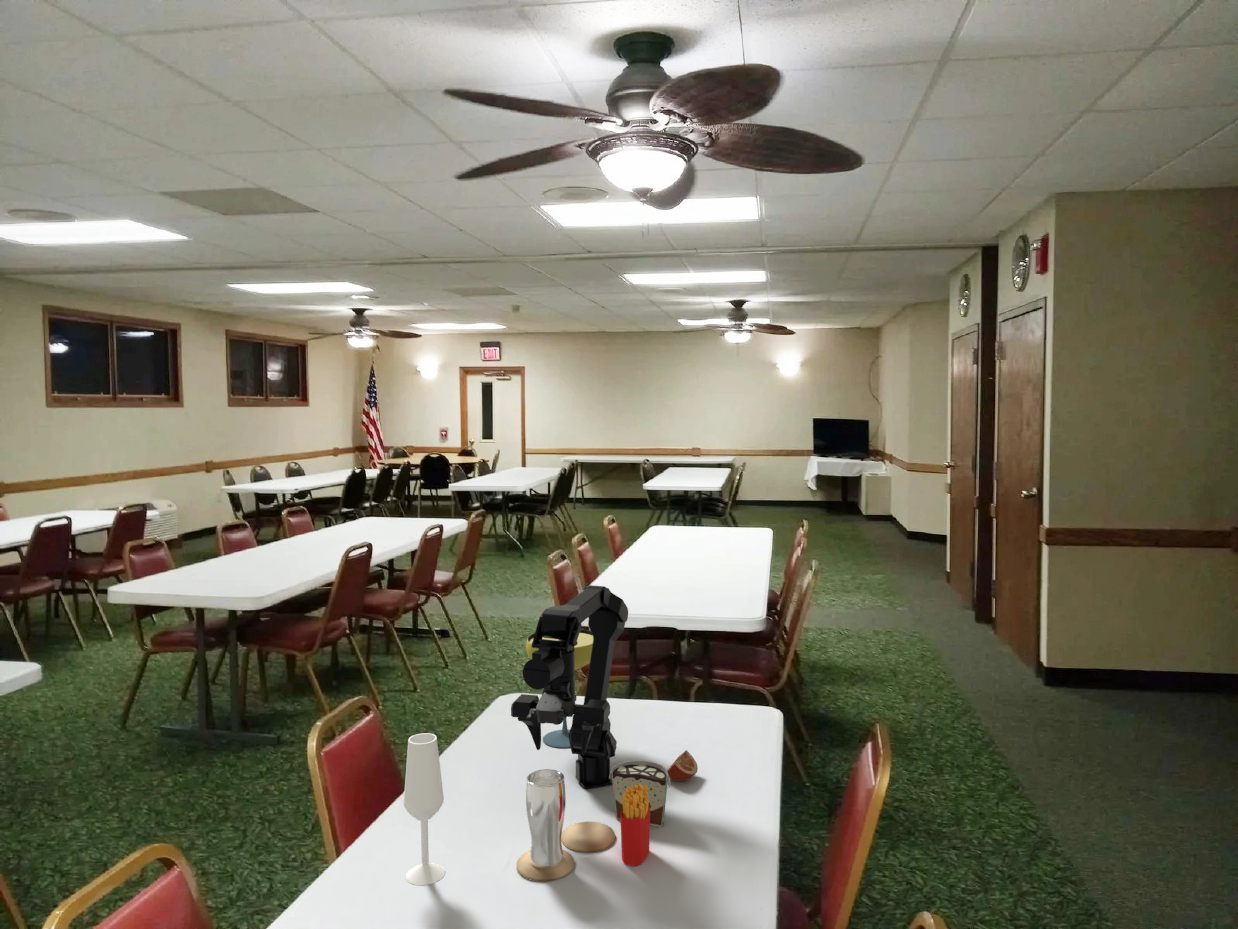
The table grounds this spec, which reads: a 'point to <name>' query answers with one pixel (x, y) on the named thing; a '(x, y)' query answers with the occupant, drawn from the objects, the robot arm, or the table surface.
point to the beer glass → (546, 817)
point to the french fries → (635, 825)
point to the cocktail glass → (581, 659)
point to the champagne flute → (423, 799)
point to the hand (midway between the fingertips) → (561, 751)
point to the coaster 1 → (544, 874)
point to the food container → (644, 775)
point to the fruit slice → (683, 767)
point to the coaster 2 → (587, 836)
